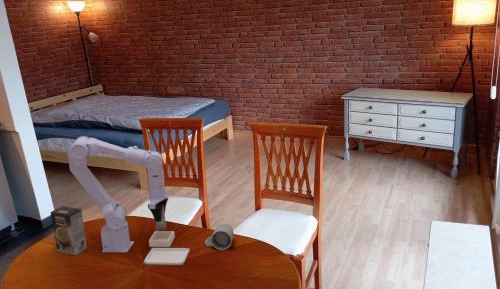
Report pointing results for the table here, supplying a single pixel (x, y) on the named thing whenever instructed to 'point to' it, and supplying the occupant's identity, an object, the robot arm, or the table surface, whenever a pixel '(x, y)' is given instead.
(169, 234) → the square socket block
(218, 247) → the ceramic mug
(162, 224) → the steel pin
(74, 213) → the coffee box
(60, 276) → the table surface
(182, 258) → the tray
